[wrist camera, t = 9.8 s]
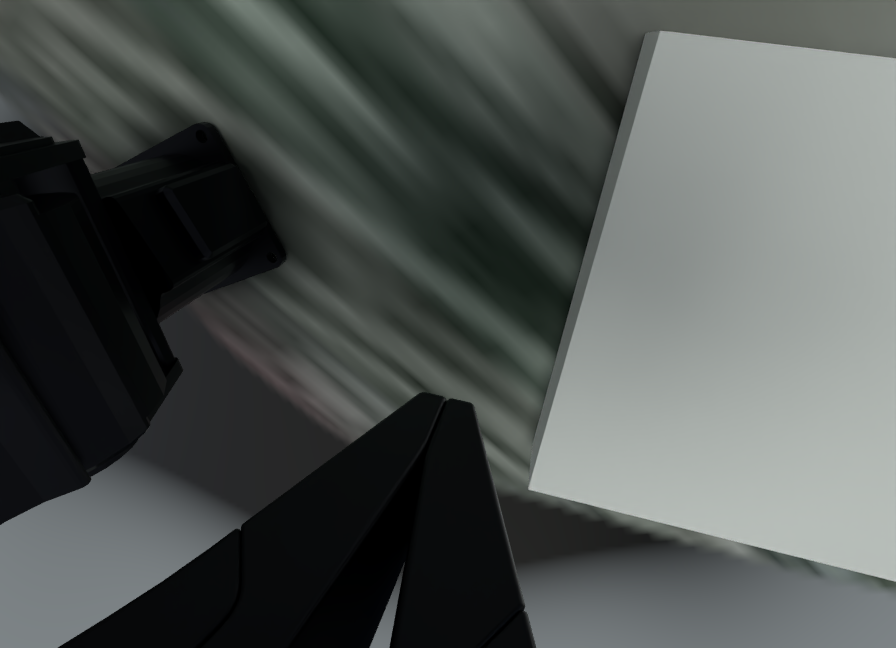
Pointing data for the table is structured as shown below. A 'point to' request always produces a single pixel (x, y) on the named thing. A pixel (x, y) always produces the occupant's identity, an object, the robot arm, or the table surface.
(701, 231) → the thin white panel
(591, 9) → the table surface
